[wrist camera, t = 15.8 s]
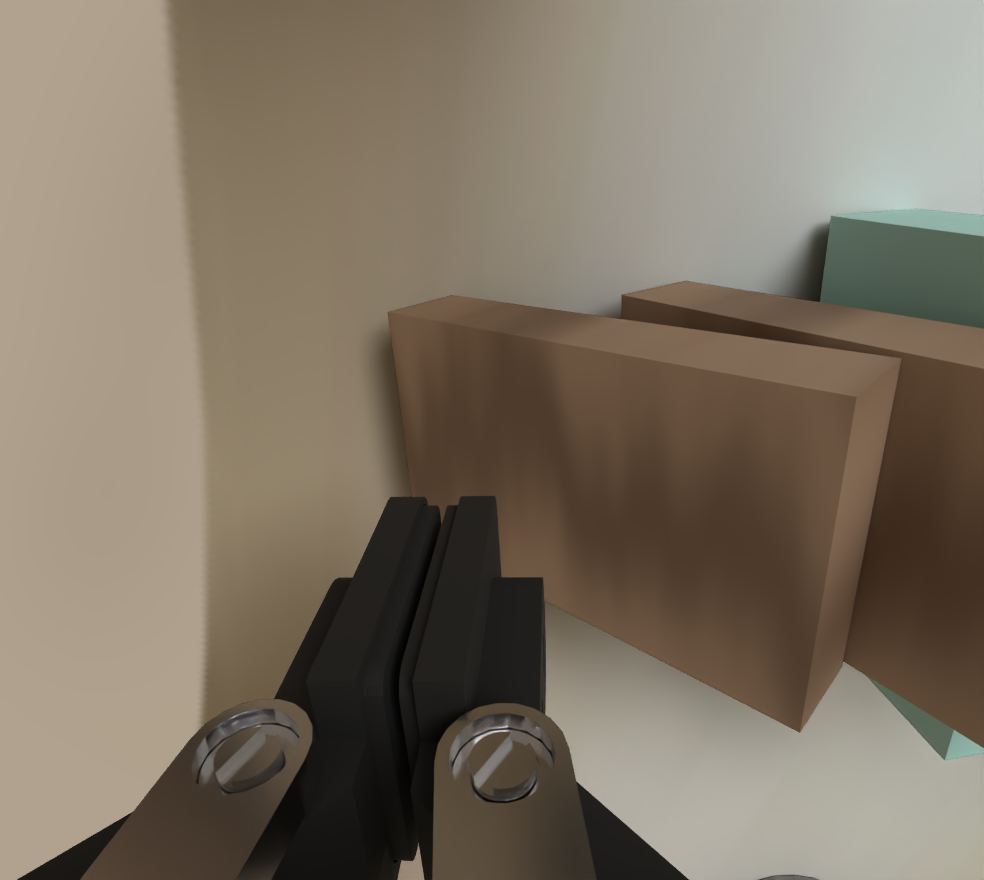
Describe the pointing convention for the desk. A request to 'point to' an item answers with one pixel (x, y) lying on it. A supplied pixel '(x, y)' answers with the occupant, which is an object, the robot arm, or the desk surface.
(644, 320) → the domino
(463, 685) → the robot arm
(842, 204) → the desk surface
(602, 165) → the desk surface
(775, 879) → the beverage cup
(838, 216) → the teal domino
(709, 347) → the domino
